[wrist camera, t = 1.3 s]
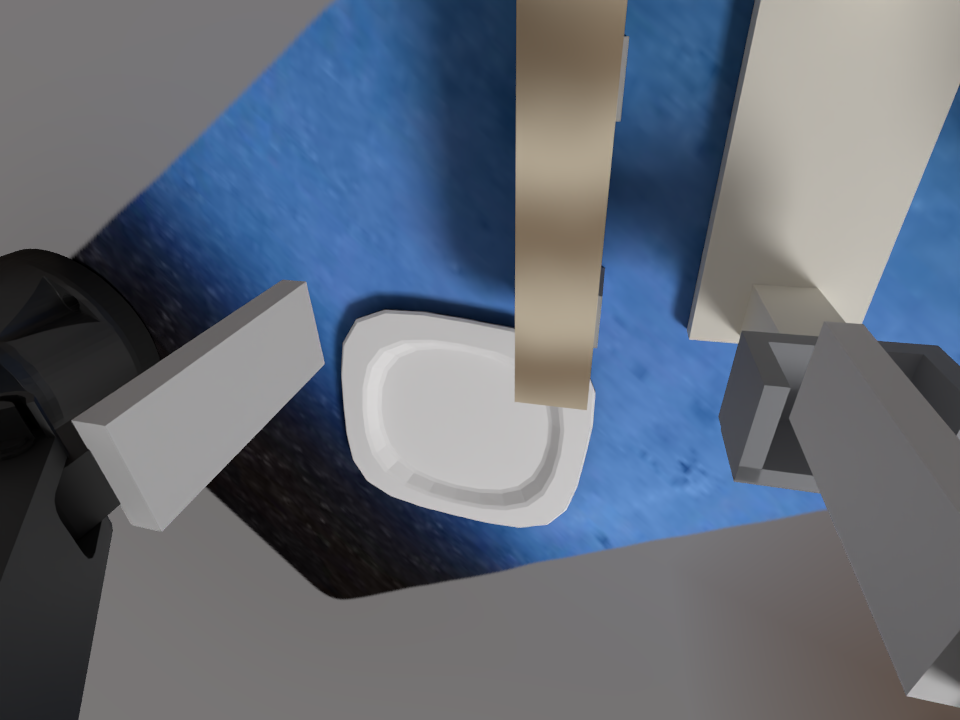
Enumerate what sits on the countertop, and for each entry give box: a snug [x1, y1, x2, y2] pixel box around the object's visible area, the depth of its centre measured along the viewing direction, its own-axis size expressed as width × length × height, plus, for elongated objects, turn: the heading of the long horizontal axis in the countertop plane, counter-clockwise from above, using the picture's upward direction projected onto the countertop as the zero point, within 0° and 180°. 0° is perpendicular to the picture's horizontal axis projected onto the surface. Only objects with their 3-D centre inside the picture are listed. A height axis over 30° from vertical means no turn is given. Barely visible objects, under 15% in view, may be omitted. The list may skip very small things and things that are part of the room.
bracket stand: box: [687, 0, 960, 493], centre depth 18 cm, size 8×21×12 cm, turn 2°
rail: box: [515, 0, 627, 410], centre depth 22 cm, size 17×4×4 cm, turn 2°
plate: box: [341, 309, 595, 528], centre depth 37 cm, size 18×18×2 cm
